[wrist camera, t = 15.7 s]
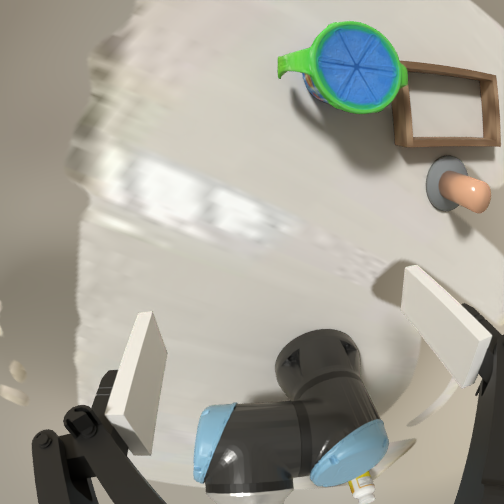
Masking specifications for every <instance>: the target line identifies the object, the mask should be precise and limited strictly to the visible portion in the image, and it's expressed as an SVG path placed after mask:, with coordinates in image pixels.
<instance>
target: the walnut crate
mask: <svg viewBox="0 0 504 504" xmlns="http://www.w3.org/2000/svg"><path fill="white" fill-rule="evenodd" d="M400 63H401V64H403V65H404V66H405V67H406V69H407V72H419V73H429V74H438V75H446V76H453V77H460V78H466V79H472V80H478V81H480V90H481V101H482V114H483V136H484V138H476V137H413V131H412V117H411V106H410V96H409V87H408V85H407V86H404V87H402V88H400V89H399V91H398V93H397V95H396V97H395V98H394V99H393V101H392V111H393V122H394V135H395V145H399V146H403V147H433V146H497V147H501V136H500V113H499V99H498V88H497V80H496V75H491V74H487V73H482V72H477V71H472V70H467V69H461V68H455V67H449V66H443V65H435V64H428V63H419V62H409V61H400Z"/></svg>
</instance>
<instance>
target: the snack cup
mask: <svg viewBox="0 0 504 504" xmlns="http://www.w3.org/2000/svg"><path fill="white" fill-rule="evenodd" d="M287 71H296V72H301V73H302V74H303V79H304V82H305V85H306V87H307V89H308V90H309V92H310V93H311V94H312V95H313V96H314V97H315V98H317V99H318V100H320V101H322V102H325V103H328V104H330V105H332V106H333V107H335V108H336V109H341V110H343V111H346V112H349V113H355V114H368V113H373V112H375V113H377V112H380V111H382V110H383V109H384V108H385V107H386V106H388V105H389V104H390V103H391V102H392V101H393V99H394V98H395V97H396V95H397V93H398V91H399V89H400V88H402V87H404V86H407V85H408V73H407V69H406V67H405V66H404V65H403V64H401V63H400V61H399V58H398V55H397V53H396V51H395V49H394V47H393V46H392V44H391V43H390V42H389V40H388V39H387V38H386V37H385V36H383V35H382V34H381V33H380V32H379V31H377V30H376V29H374V28H372V27H370V26H368V25H366V24H363V23H361V22H353V21H345V22H339V23H337V22H335V23H332V24H329V25H328V26H327V28H326V29H324V30H323V31H322V32H321V33H320V34H319V35H318V36H317V37H316V39H315V40H314V42H313V44H312V46H311V47H310V48H307V49H304V50H300V51H296V52H293V53H289V54H286V55H284V56H281V57H280V56H279V57H278V78H279V79H281V76H282V75H283V74H285V73H286V72H287Z"/></svg>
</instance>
